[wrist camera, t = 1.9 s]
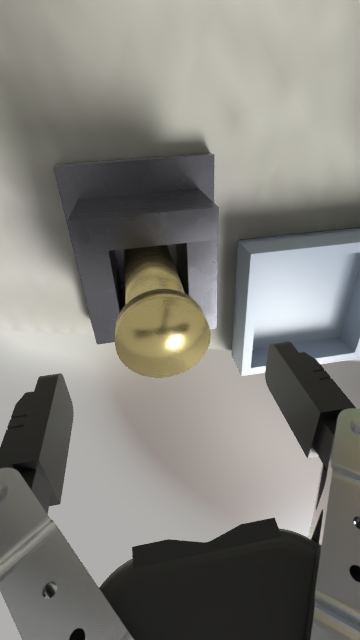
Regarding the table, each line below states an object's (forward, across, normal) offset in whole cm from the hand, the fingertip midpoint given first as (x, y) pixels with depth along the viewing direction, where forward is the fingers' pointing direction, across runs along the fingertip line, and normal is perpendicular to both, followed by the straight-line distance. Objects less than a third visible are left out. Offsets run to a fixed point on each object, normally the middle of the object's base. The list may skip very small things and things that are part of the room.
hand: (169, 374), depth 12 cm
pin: (+13, 0, 0) cm, 13 cm away
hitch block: (+14, 0, 0) cm, 14 cm away
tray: (+14, -13, +6) cm, 20 cm away
